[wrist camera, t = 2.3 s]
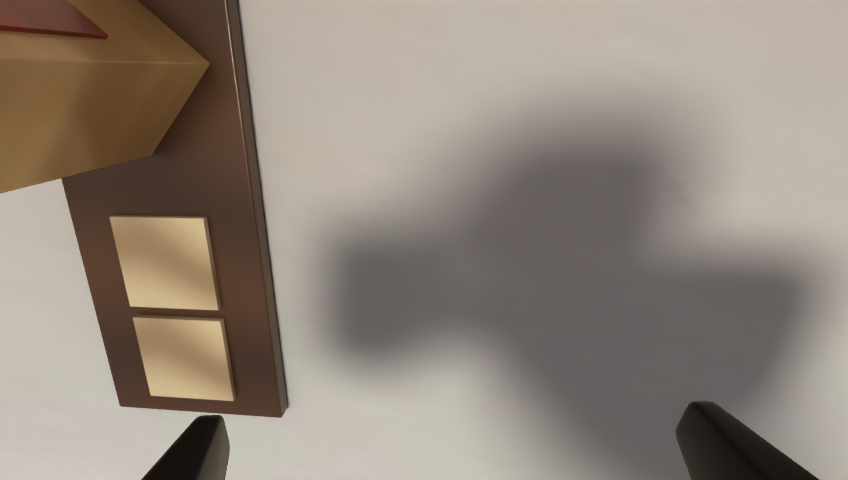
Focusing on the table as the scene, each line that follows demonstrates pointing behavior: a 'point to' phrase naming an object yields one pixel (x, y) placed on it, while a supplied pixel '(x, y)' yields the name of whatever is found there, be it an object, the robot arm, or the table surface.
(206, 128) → the board
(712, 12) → the table surface
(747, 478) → the robot arm
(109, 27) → the tall tan block
